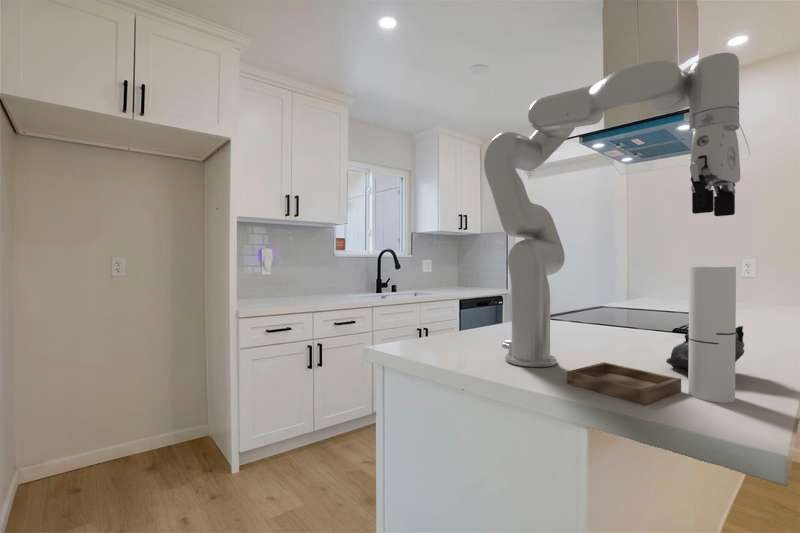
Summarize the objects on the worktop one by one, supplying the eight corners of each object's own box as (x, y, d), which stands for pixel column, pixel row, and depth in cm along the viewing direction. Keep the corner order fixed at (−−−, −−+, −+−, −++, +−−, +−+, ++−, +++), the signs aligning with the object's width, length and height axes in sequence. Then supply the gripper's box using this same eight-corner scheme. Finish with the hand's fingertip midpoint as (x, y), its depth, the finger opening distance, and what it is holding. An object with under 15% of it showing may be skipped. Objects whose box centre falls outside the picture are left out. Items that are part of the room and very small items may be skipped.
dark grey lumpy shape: (661, 363, 103) (686, 314, 103) (716, 389, 97) (742, 337, 98) (672, 359, 90) (700, 303, 90) (736, 388, 84) (766, 329, 84)
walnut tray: (567, 383, 87) (567, 371, 87) (604, 372, 95) (604, 362, 95) (645, 405, 74) (645, 391, 74) (681, 391, 81) (681, 378, 81)
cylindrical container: (743, 403, 74) (745, 266, 74) (699, 401, 76) (700, 266, 75) (721, 391, 81) (722, 266, 81) (681, 389, 83) (682, 266, 82)
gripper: (718, 109, 70) (718, 209, 70) (755, 126, 79) (755, 214, 79) (670, 122, 76) (670, 213, 76) (709, 136, 85) (709, 218, 86)
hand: (713, 214), depth 78 cm, fingers open, 9 cm apart
